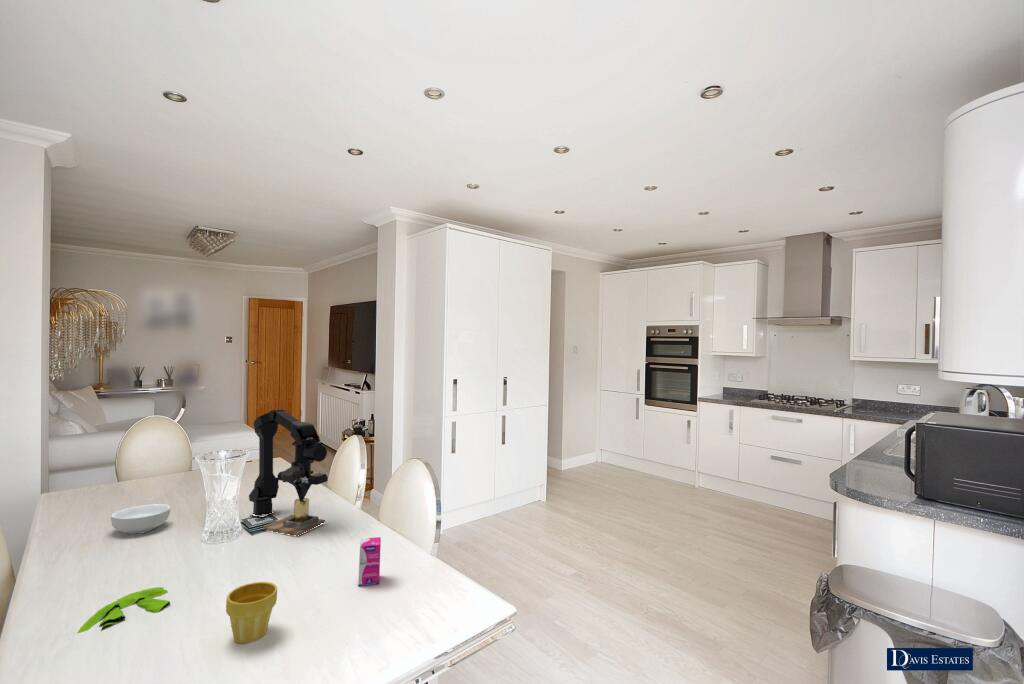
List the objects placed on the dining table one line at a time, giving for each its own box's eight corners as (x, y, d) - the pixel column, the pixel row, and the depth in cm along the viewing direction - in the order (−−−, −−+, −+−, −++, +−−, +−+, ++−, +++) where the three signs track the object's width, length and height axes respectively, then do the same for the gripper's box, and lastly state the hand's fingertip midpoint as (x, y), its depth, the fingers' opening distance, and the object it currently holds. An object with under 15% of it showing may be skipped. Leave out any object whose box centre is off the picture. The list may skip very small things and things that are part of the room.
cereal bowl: (181, 523, 174) (181, 504, 175) (141, 540, 158) (142, 519, 158) (140, 520, 176) (141, 502, 176) (97, 537, 160) (98, 517, 160)
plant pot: (283, 621, 112) (285, 580, 112) (262, 648, 101) (264, 603, 102) (240, 621, 111) (242, 580, 112) (214, 648, 101) (216, 603, 101)
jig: (262, 530, 168) (262, 521, 168) (291, 518, 182) (292, 509, 182) (297, 537, 163) (297, 527, 163) (324, 523, 176) (325, 514, 177)
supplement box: (358, 587, 129) (359, 545, 129) (359, 577, 135) (360, 537, 135) (379, 584, 130) (380, 544, 131) (379, 575, 136) (380, 536, 137)
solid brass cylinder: (290, 525, 170) (291, 501, 170) (300, 521, 175) (301, 497, 175) (301, 527, 168) (302, 502, 169) (311, 522, 173) (312, 498, 173)
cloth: (167, 584, 130) (167, 575, 130) (192, 613, 116) (192, 603, 116) (67, 614, 114) (68, 604, 114) (82, 651, 100) (83, 640, 100)
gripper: (266, 460, 168) (264, 503, 167) (307, 464, 162) (305, 509, 161) (289, 454, 178) (288, 495, 178) (329, 458, 172) (327, 500, 172)
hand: (301, 500), depth 172 cm, fingers closed, pressing on solid brass cylinder
